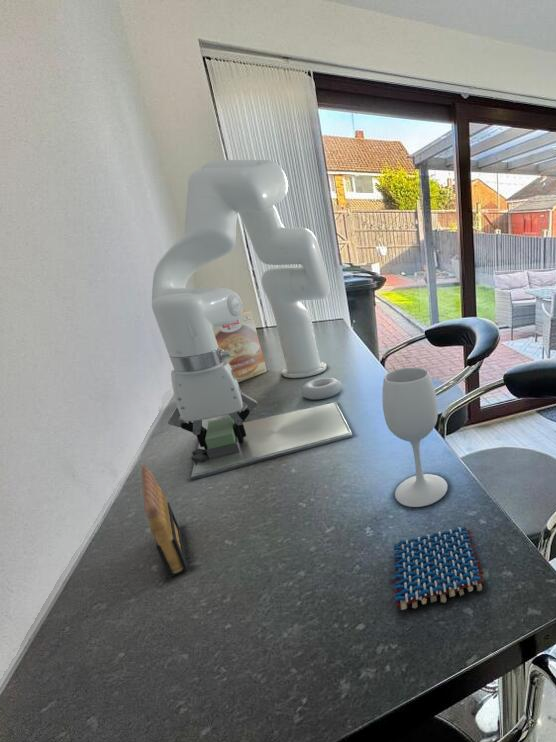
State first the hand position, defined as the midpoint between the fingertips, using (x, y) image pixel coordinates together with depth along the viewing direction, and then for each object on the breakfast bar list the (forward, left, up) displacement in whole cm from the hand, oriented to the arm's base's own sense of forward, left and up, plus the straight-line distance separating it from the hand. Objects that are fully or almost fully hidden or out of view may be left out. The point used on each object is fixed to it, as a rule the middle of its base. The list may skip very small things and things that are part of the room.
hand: (225, 443), depth 82 cm
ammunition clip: (+30, -5, -1) cm, 30 cm away
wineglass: (+36, +29, -1) cm, 46 cm away
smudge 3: (+4, -4, 0) cm, 6 cm away
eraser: (0, 0, 0) cm, 0 cm away
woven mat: (+53, +25, -1) cm, 59 cm away
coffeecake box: (-47, +1, -1) cm, 47 cm away
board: (0, +9, -1) cm, 9 cm away
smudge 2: (+2, -4, 0) cm, 4 cm away
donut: (-19, +21, -1) cm, 28 cm away
